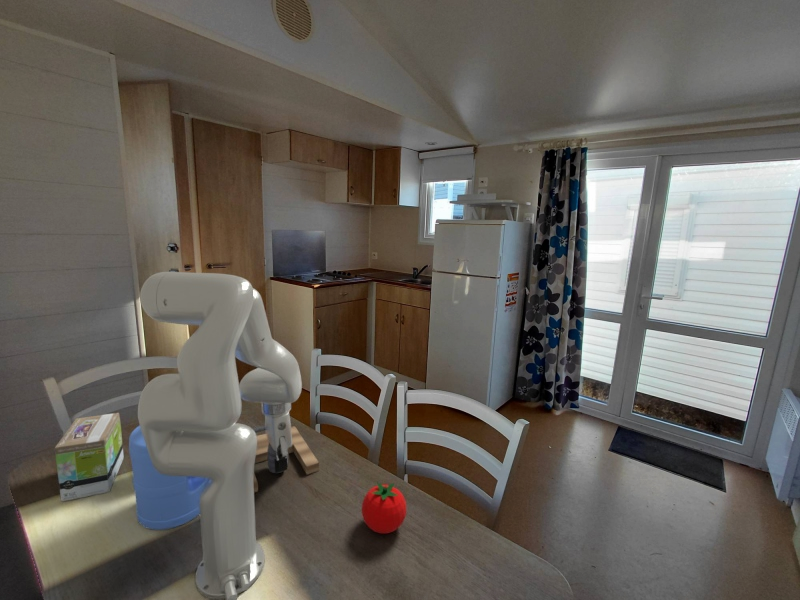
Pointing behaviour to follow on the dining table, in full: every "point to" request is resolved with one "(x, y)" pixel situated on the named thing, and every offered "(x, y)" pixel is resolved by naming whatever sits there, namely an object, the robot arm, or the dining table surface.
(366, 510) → the tomato
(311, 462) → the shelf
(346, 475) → the dining table surface
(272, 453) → the coil
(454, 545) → the dining table surface
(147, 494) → the water jug
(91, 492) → the tea box
